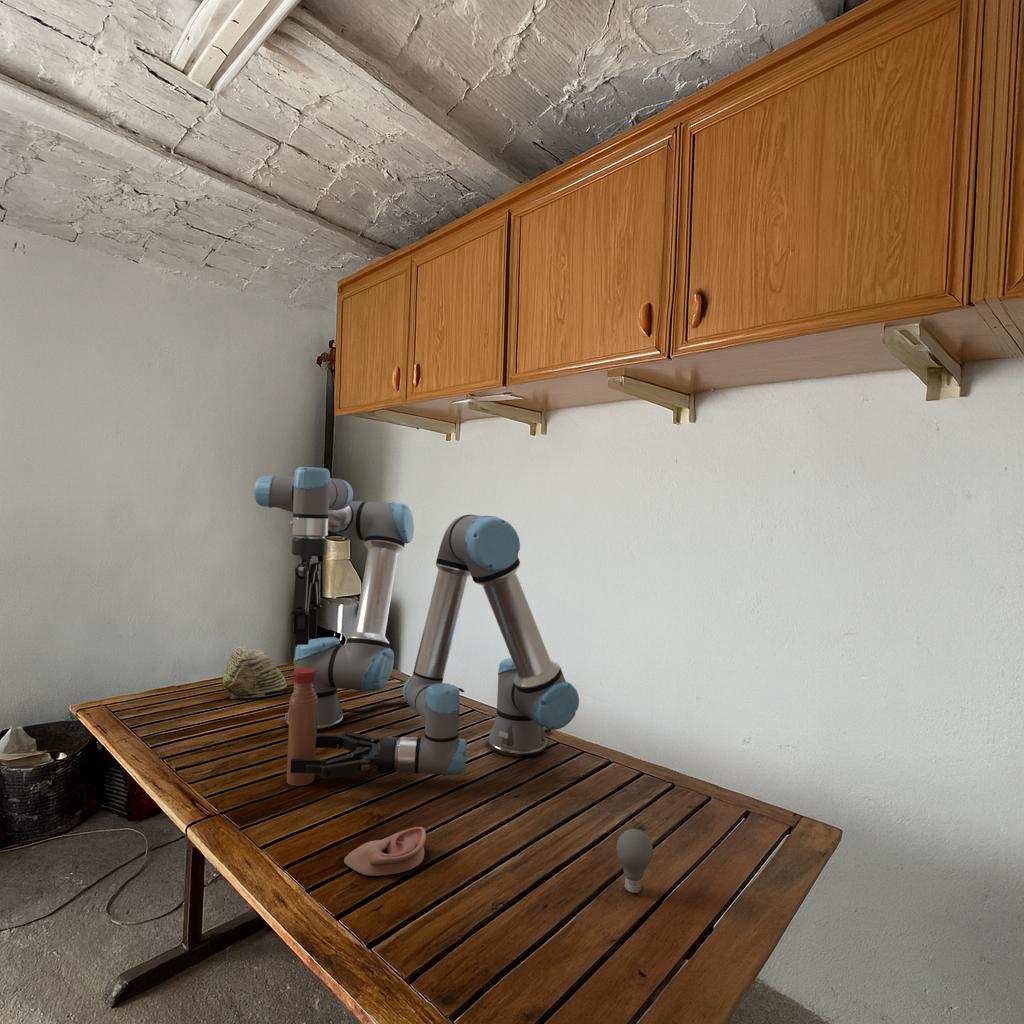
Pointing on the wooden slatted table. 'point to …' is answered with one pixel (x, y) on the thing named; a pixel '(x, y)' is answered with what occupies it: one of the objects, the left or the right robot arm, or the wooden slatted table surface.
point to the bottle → (302, 731)
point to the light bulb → (634, 857)
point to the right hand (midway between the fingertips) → (300, 752)
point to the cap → (304, 675)
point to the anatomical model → (389, 853)
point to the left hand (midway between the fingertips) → (306, 640)
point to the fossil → (252, 674)
